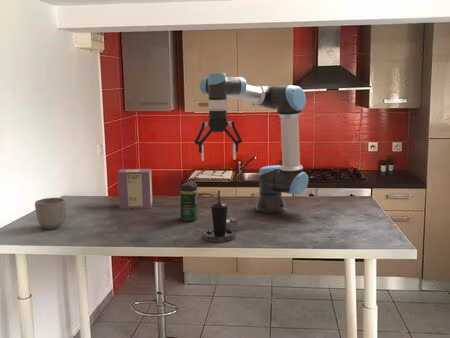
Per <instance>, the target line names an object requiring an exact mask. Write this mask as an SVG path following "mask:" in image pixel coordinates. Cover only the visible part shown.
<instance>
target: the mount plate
mask: <svg viewBox="0 0 450 338" xmlns="http://www.w3.org/2000/svg"><path fill="white" fill-rule="evenodd" d="M236 232H237V231H234V230H232V229H229V228H226V232H225V236H215V235H214V228H213V227H211V228H207V229H205V230H203V232H202V237H203V240H205V241H207V242H210V241H211V242H210V243H227V242H230V241H233V240H235V239H236V236H237V233H236Z"/></svg>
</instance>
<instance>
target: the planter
mask: <svg viewBox="0 0 450 338" xmlns="http://www.w3.org/2000/svg"><path fill="white" fill-rule="evenodd" d="M34 209H35V214H36V220H37V223H38V224H39V225H40V226H41V227H43V229H44V230H49V231H50V230H56V229H60V228H61V225H63V224H64V223H65V221H66V215H67V201H66V198H62V197H47V198H41V199H37V200H35V201H34Z"/></svg>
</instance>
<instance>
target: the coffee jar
mask: <svg viewBox="0 0 450 338" xmlns="http://www.w3.org/2000/svg"><path fill="white" fill-rule="evenodd" d="M179 192H180V221H183V222H194V221H196V220H197V219H198V218H199V216H198V215H199V213H198V212H199V211H198V184H197V183H196V182H195V181H186V182H185V183H183V184H180V187H179Z"/></svg>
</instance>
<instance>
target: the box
mask: <svg viewBox="0 0 450 338" xmlns="http://www.w3.org/2000/svg"><path fill="white" fill-rule="evenodd" d="M152 180H153V179H152V168H125V169H123V168H121V169H120V168H119V170H118V171H117V187H118V189H117V190H118V204H119V206H118V207H119V210H132V209H131V208H134V209H133V210H136V209H137V210H138V209H139V210H141V209H152V206H153V183H152ZM122 208H123V209H122Z"/></svg>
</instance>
